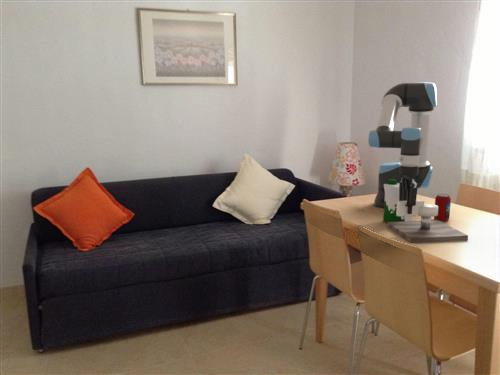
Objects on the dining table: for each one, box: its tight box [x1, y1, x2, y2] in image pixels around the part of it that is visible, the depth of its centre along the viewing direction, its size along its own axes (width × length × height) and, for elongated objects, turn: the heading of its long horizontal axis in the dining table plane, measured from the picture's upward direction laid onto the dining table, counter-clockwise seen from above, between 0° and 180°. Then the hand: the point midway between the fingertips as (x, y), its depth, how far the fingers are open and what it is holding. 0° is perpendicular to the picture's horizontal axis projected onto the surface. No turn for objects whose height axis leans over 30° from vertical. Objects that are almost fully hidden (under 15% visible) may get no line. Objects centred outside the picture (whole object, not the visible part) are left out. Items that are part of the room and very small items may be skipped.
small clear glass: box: [420, 216, 432, 230], centre depth 188 cm, size 4×4×6 cm
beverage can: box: [433, 193, 452, 222], centre depth 208 cm, size 7×7×12 cm
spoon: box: [396, 199, 438, 218], centre depth 186 cm, size 18×9×6 cm, turn 99°
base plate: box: [386, 219, 469, 244], centre depth 189 cm, size 24×24×2 cm
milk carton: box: [382, 179, 405, 223], centre depth 204 cm, size 9×9×20 cm
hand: (406, 219), depth 187 cm, fingers closed on spoon, 3 cm apart
